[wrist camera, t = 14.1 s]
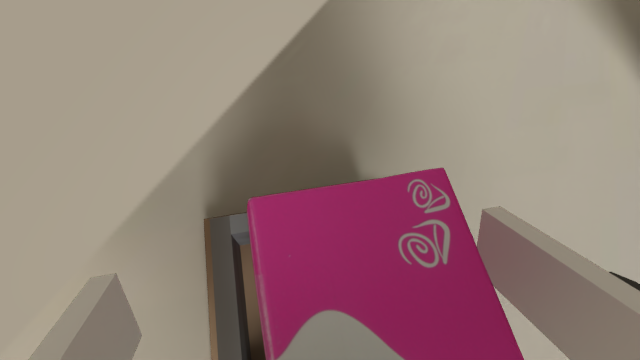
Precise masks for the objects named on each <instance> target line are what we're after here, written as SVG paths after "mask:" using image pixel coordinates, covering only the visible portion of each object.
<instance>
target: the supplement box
mask: <svg viewBox="0 0 640 360" xmlns="http://www.w3.org/2000/svg"><path fill="white" fill-rule="evenodd" d="M247 216H248V226H249V236H250V244H251V252H252V260H253V268H254V276H255V284H256V291H257V299H258V306H259V313H260V321H261V328H262V335H263V342H264V349H265V356H266V360H524V358H523V356H522V353H521V351H520V349H519V347H518V345H517V342H516V340H515V337H514V335H513V332H512V330H511V327H510V325H509V323H508V320H507V318H506V315H505V313H504V311H503V308H502V306H501V304H500V301H499V299H498V296H497V294H496V292H495V289H494V287H493V284H492V282H491V280H490V277H489V275H488V272H487V270H486V268H485V265H484V263H483V261H482V258H481V256H480V254H479V251H478V249H477V247H476V244H475V242H474V239H473V236H472V234H471V232H470V230H469V227H468V225H467V222H466V220H465V217H464V215H463V213H462V210H461V208H460V205H459V203H458V200H457V198H456V196H455V193H454V191H453V189H452V186H451V184H450V181H449V179H448V176H447V174H446V172H445V170H444V168H436V169H429V170H423V171H417V172H411V173H405V174H400V175H394V176H389V177H384V178H379V179H372V180H365V181H358V182H351V183H345V184H338V185H331V186H324V187H318V188H311V189H304V190H298V191H292V192H285V193H277V194H271V195H265V196H259V197H252V198H249V199H248V204H247Z"/></svg>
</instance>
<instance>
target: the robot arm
mask: <svg viewBox="0 0 640 360" xmlns="http://www.w3.org/2000/svg"><path fill="white" fill-rule="evenodd" d="M477 249H478V251H479V254H480V256H481V258H482V261H483V263H484V265H485V268H486V270H487V272H488V275H489V277H490V280H491V282H492V284H493V286H494V287H495V288H496V289H497V290H498V291H499V292H500V293H501V294H502V295H503V296H504V297H505V298H507V299H508V300H509V301H510V302H511V303H512V304H513V305H514V306H515V307H516V308H517V309H518V310H519V311H520V312H521V313H522V314H523V315H524V316H525V317H526V318H527V319H528V320H529V321H531V322H532V323H533V324H534V325H535V326H536V327H537V328H538V329H539V330H540V331H541V332H542V333H543V334H544V335H545V336H546V337H547V338H548V339H549V340H550V341H551V342H552V343H553V344H554V345H556V346H557V347H558V348H559V349H560V350H561V351H562V352H563V353H564V354H565V355H566V356H567V357H568V358H569V359H570V360H640V284H638V283H637V282H635V281H632V280H630V279H627V278H625V277H622V276H620V275H617V274H615V273H612V272H607V271H606V270H604V269H602V268H601V267H599V266H597V265H596V264H594V263H593V262H591V261H589V260H588V259H586V258H584V257H583V256H581V255H579V254H578V253H576V252H574V251H573V250H571V249H569V248H568V247H566V246H565V245H563V244H561V243H560V242H558V241H556V240H555V239H553V238H551V237H550V236H548V235H546V234H545V233H543V232H541V231H540V230H538V229H537V228H535V227H533V226H532V225H530V224H528V223H527V222H525V221H523V220H522V219H520V218H518V217H517V216H515V215H513V214H512V213H510V212H509V211H507V210H505V209H504V208H502V207H500V206H499V207H494V208H488V209H482V216H481V223H480V229H479V236H478V242H477ZM141 336H142V334H141V331H140V329H139V327H138V324H137V322H136V320H135V317H134V315H133V312H132V310H131V308H130V305H129V303H128V300H127V298H126V296H125V293H124V291H123V289H122V286H121V284H120V281H119V279H118V277H117V274H116V273H115V274H110V275H104V276H98V277H93V278H90V279H89V280H88V281H87V283H86V284H85V285H84V287H83V288H82V289H81V291H80V292H79V293H78V295H77V296H76V297H75V299H74V300H73V301H72V303H71V304H70V305H69V307H68V308H67V309H66V310H65V312H64V313H63V314H62V316H61V317H60V318H59V320H58V321H57V322H56V324H55V325H54V326H53V328H52V329H51V330H50V332H49V333H48V334H47V336H46V337H45V338H44V340H43V341H42V342H41V344H40V345H39V346H38V347H37V349H36V350H35V351H34V353H33V354H32V355H31V357H30V358H29V359H28V360H132V358H133V356H134V353H135V351H136V349H137V346H138V344H139V341H140V339H141Z"/></svg>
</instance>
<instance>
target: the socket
mask: <svg viewBox="0 0 640 360" xmlns="http://www.w3.org/2000/svg"><path fill="white" fill-rule="evenodd" d="M204 231H205V249H206V268H207V286H208V304H209V323H210V341H211V359H212V360H266V356H265V349H264V342H263V335H262V328H261V321H260V313H259V306H258V299H257V291H256V284H255V276H254V268H253V260H252V252H251V244H250V236H249V226H248V216H247V212H246V213H239V214H233V215H227V216H221V217H214V218H208V219H204Z"/></svg>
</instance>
